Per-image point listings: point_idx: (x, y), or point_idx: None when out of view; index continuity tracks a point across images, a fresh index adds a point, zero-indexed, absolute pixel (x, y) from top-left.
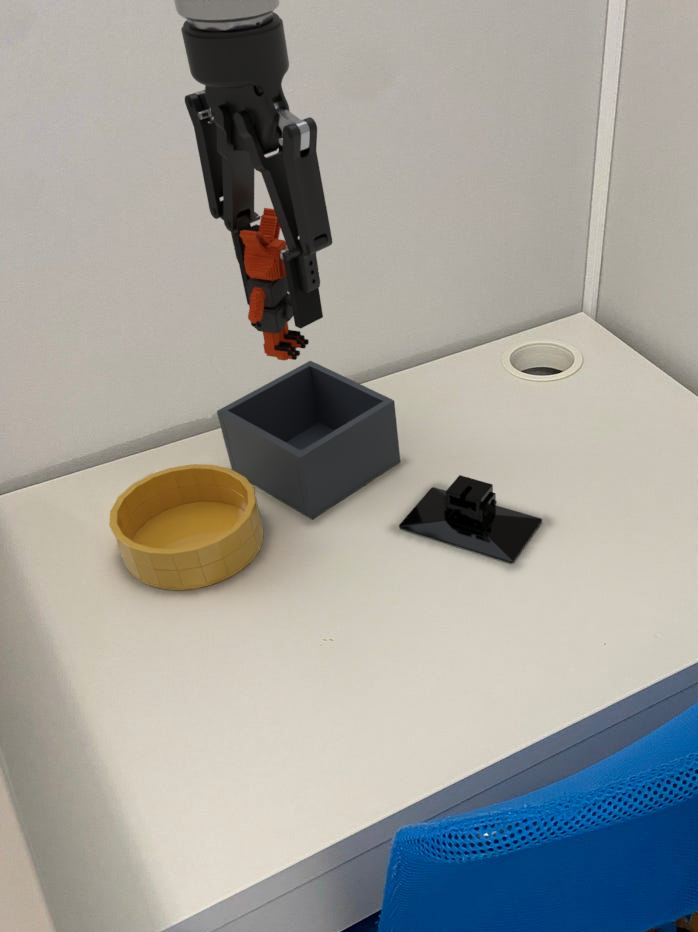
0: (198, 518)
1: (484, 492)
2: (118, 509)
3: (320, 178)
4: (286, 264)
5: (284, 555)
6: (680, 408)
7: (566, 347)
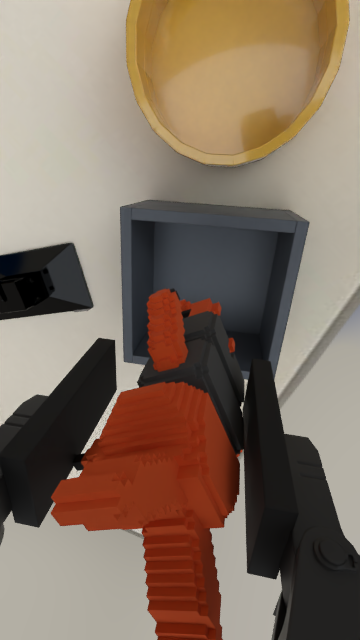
0: (258, 104)
1: None
2: None
3: None
4: (30, 436)
5: (127, 130)
6: None
7: None
